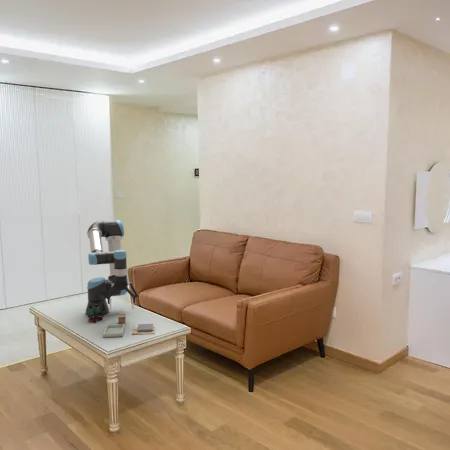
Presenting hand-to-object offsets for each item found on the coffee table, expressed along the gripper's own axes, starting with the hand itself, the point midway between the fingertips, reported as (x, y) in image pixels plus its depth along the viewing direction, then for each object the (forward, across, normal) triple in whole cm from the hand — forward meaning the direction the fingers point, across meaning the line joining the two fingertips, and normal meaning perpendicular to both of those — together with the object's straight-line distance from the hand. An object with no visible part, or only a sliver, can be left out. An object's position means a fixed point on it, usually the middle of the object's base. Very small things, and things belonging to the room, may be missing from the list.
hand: (121, 308), depth 274 cm
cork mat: (+10, +14, -14) cm, 22 cm away
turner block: (+10, 0, +1) cm, 10 cm away
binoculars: (+10, -17, +9) cm, 22 cm away
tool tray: (+10, -3, -14) cm, 18 cm away
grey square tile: (+9, +15, -7) cm, 19 cm away
